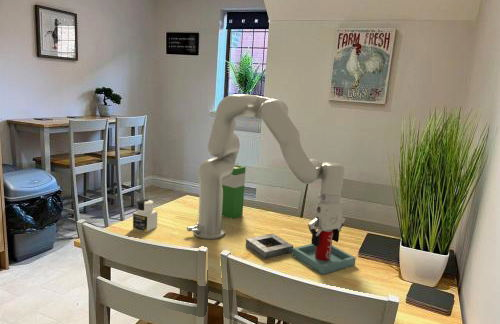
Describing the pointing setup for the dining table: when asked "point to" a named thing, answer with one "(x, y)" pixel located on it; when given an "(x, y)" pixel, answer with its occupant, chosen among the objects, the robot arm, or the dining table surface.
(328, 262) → the tray
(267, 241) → the grey square frame
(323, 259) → the soda can
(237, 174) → the green cereal box
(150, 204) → the medicine bottle
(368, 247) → the dining table surface
